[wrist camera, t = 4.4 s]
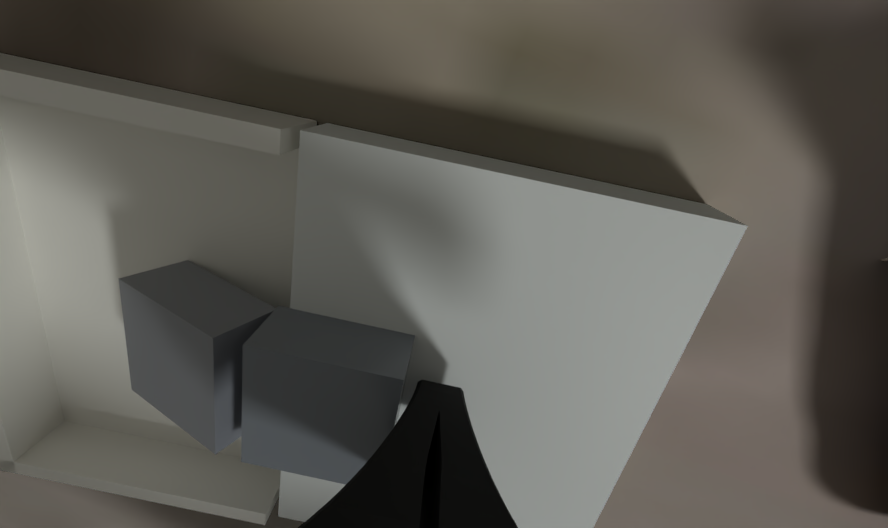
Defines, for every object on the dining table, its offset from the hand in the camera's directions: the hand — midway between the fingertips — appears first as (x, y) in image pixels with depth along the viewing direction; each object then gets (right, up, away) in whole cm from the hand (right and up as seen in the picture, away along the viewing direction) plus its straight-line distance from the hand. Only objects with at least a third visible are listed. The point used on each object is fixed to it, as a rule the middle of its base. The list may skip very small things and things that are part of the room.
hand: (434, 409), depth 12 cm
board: (+1, +1, +2) cm, 3 cm away
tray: (-9, +3, +2) cm, 10 cm away
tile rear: (-7, +2, +1) cm, 7 cm away
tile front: (-3, +1, +1) cm, 3 cm away
